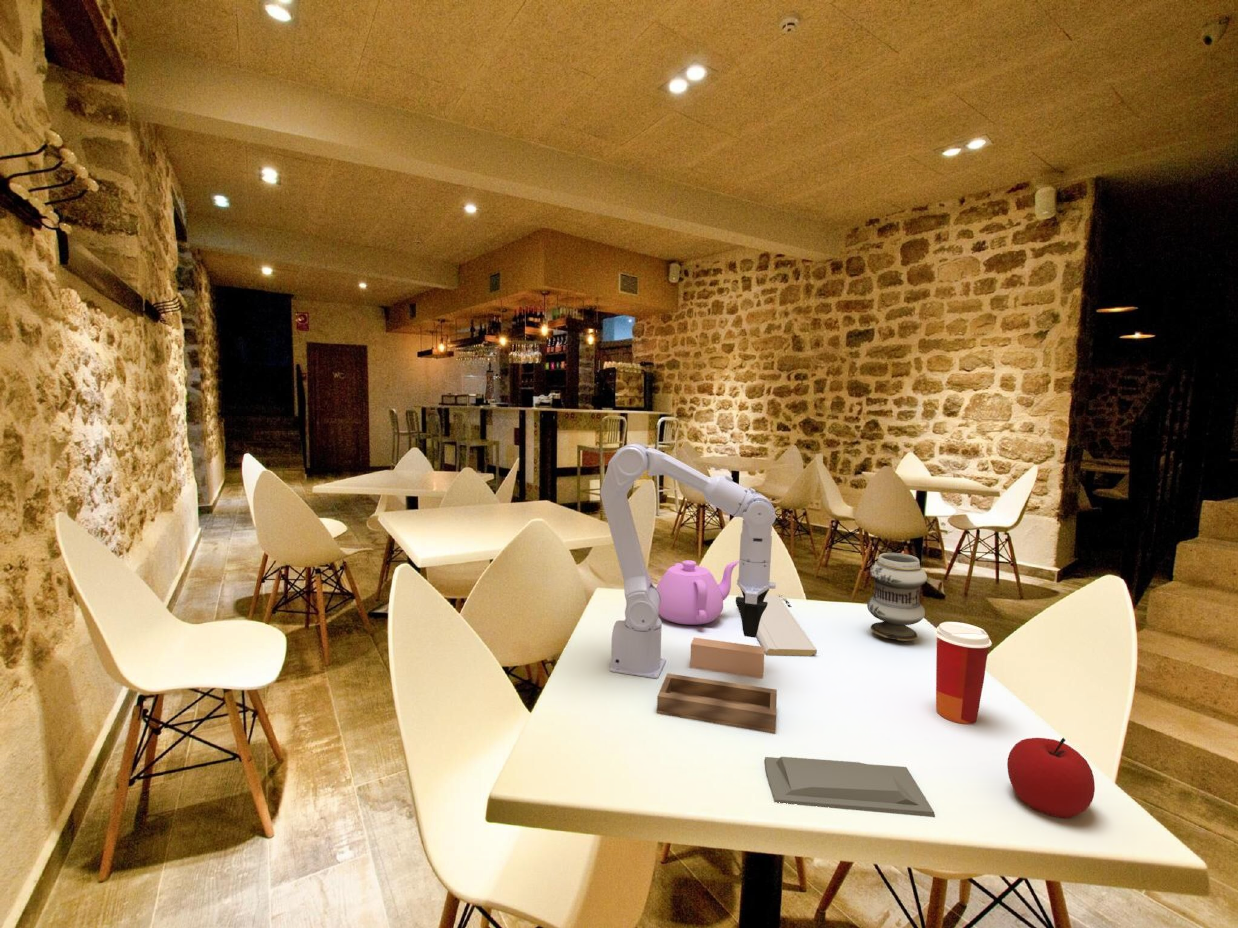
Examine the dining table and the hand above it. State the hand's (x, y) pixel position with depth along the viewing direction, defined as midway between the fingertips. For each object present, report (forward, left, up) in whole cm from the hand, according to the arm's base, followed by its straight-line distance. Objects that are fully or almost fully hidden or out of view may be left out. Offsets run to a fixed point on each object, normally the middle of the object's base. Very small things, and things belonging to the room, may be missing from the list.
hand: (751, 628), depth 109 cm
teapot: (-14, +29, -10) cm, 34 cm away
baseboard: (+11, +29, -9) cm, 32 cm away
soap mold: (+14, -30, -10) cm, 35 cm away
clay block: (-4, +2, -10) cm, 11 cm away
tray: (-4, -15, -10) cm, 18 cm away
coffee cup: (+35, -3, -10) cm, 36 cm away
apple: (+40, -25, -10) cm, 48 cm away
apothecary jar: (+31, +33, -10) cm, 47 cm away
